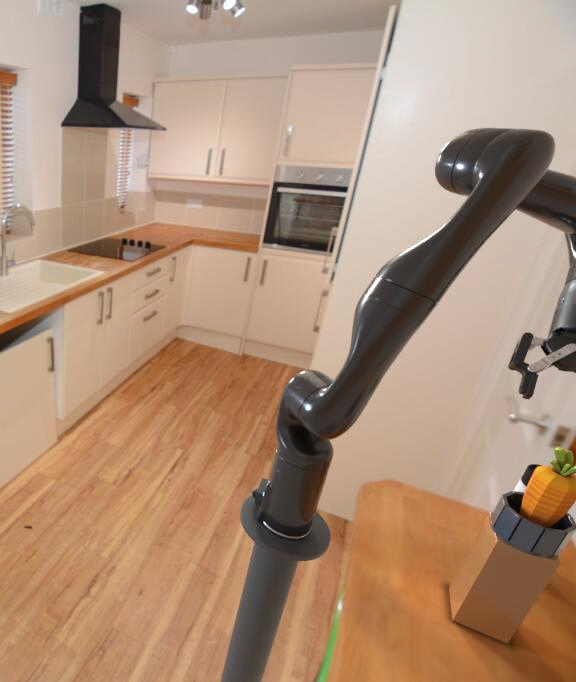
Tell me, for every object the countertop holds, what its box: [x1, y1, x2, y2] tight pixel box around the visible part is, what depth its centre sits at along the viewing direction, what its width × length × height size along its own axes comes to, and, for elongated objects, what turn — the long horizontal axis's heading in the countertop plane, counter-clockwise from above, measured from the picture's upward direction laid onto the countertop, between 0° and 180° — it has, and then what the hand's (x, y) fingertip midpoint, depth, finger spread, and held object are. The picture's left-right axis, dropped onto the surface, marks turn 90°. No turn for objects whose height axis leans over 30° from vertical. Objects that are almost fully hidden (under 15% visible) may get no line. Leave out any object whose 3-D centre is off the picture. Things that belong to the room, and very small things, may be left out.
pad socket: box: [448, 490, 576, 644], centre depth 70 cm, size 8×8×23 cm
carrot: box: [520, 446, 576, 528], centre depth 64 cm, size 5×5×15 cm
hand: (565, 407), depth 68 cm, fingers open, 8 cm apart
